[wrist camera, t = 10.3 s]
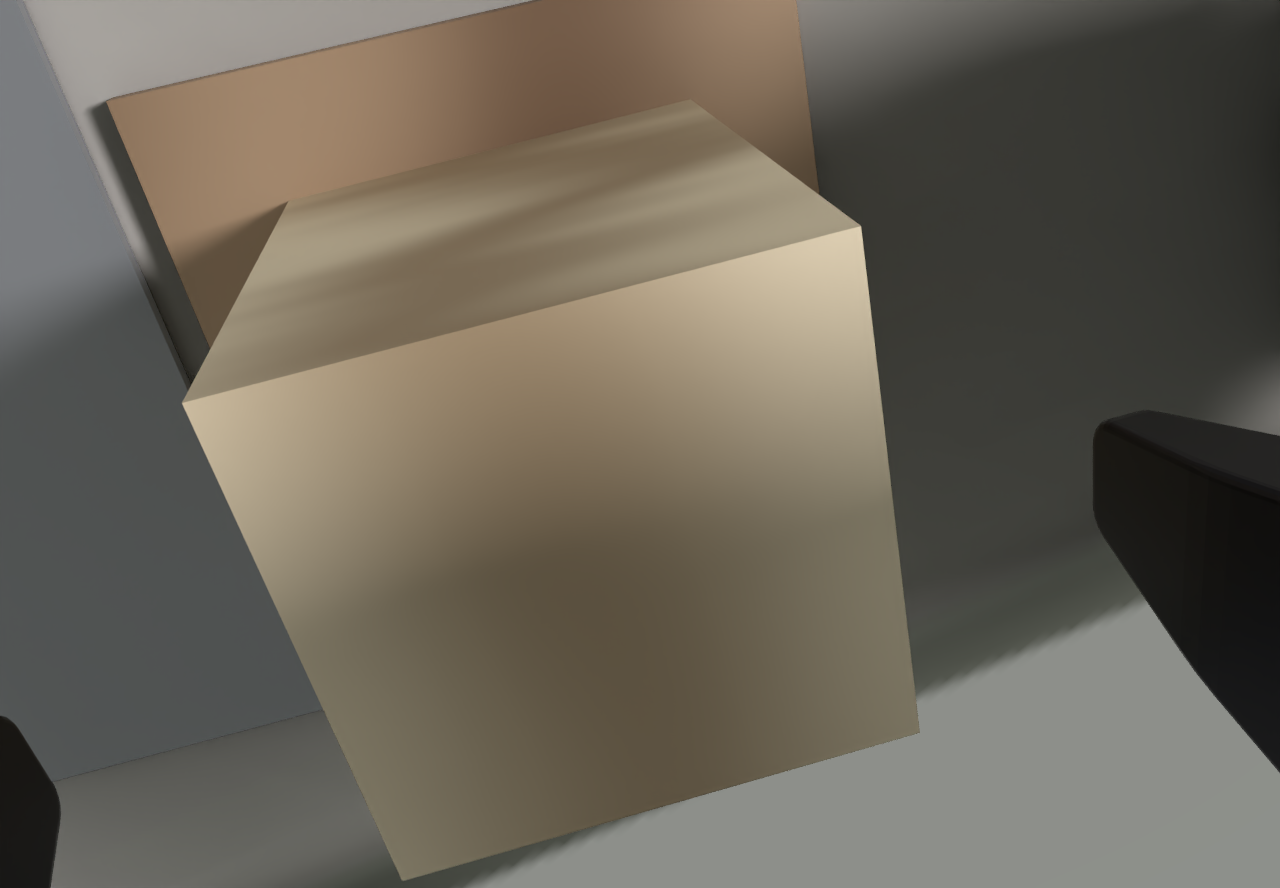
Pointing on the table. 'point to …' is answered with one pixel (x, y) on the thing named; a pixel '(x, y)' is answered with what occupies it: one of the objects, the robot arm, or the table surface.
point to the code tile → (108, 479)
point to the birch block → (568, 479)
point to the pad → (443, 111)
